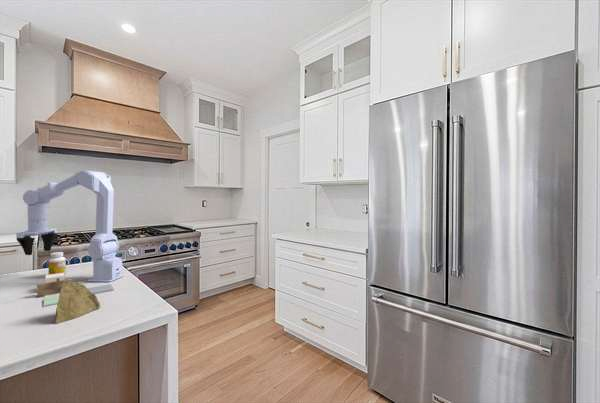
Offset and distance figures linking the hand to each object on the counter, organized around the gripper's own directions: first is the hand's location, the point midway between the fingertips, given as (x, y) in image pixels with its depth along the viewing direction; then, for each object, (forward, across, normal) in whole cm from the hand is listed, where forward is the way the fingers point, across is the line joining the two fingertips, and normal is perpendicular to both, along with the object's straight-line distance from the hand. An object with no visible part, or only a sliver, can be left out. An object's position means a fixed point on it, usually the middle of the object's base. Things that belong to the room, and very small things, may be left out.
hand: (38, 252), depth 111 cm
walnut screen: (+10, +16, +23) cm, 30 cm away
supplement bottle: (+10, -2, +6) cm, 12 cm away
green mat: (+10, +22, +30) cm, 39 cm away
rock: (+10, +31, +45) cm, 56 cm away
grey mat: (+10, +12, +36) cm, 39 cm away
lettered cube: (+10, +12, +19) cm, 25 cm away
